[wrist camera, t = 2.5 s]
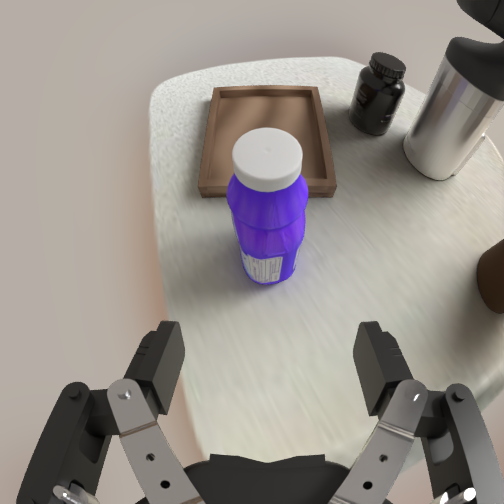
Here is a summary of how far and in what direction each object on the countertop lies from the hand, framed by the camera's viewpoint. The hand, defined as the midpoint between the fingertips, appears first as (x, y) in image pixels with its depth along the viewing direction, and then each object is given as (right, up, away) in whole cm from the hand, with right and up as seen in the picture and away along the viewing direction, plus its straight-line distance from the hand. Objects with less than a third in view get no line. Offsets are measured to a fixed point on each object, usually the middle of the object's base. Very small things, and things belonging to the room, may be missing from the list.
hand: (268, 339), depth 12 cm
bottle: (+1, +3, +20) cm, 20 cm away
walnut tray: (+1, +19, +25) cm, 32 cm away
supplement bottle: (+17, +24, +26) cm, 40 cm away
